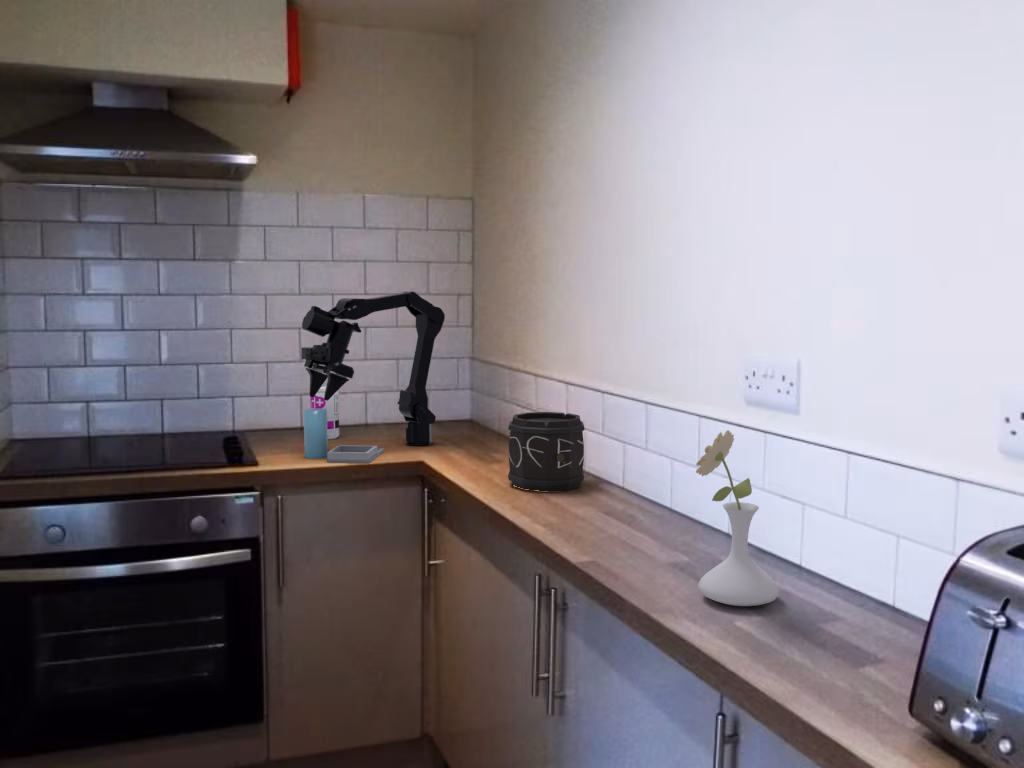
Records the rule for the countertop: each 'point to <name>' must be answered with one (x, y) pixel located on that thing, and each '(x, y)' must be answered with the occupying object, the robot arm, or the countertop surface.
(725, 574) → the flower in vase
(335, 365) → the robot arm
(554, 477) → the wooden barrel
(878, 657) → the countertop surface
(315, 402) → the supplement can
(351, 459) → the kitchen sink with drainboard
